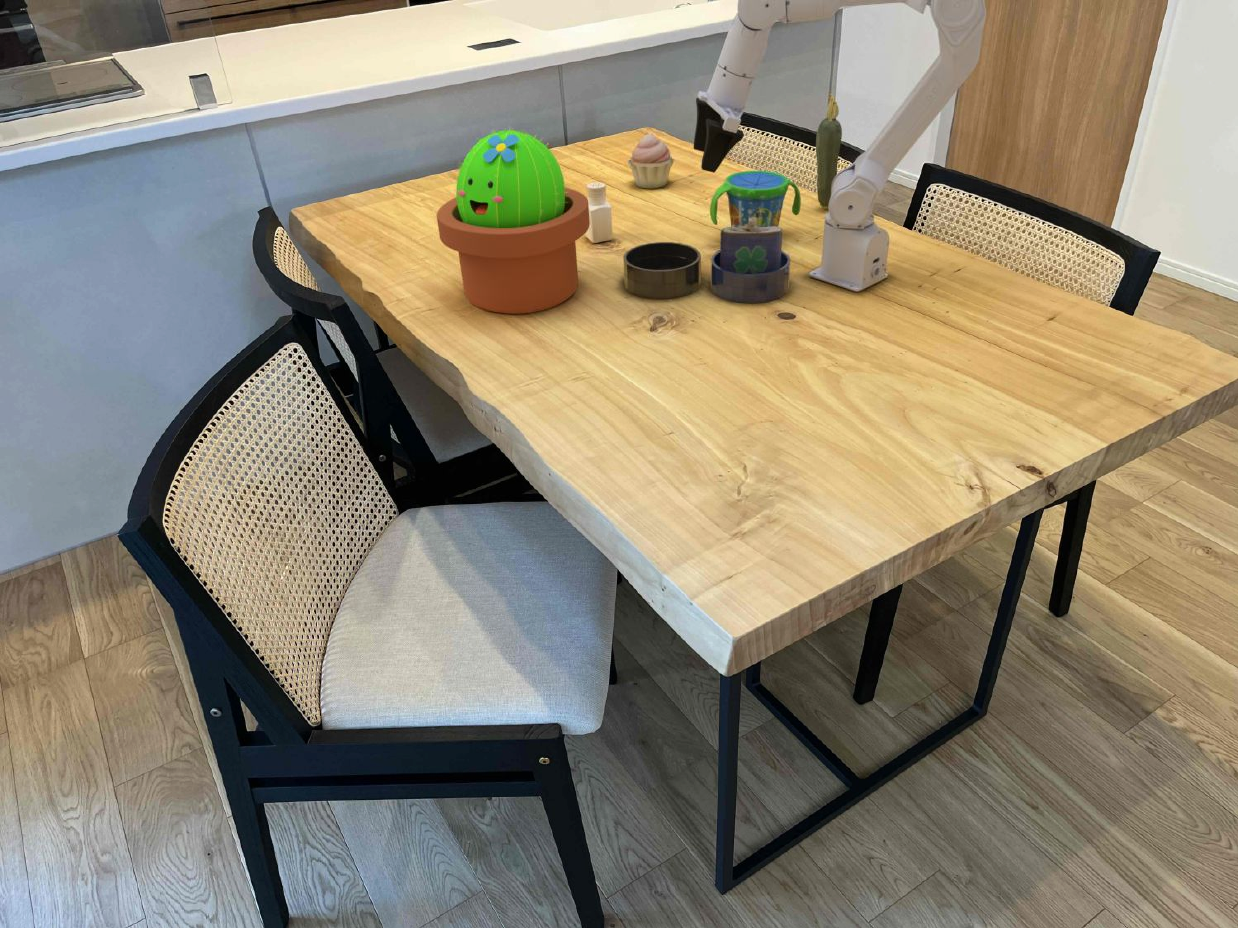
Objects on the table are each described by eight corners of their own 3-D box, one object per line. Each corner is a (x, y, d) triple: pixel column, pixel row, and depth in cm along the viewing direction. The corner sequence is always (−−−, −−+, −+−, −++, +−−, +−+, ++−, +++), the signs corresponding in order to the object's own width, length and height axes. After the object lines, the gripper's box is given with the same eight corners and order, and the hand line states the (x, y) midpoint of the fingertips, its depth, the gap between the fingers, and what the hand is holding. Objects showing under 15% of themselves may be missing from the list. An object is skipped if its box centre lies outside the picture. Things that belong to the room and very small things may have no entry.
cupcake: (683, 180, 188) (682, 129, 183) (660, 194, 182) (659, 142, 176) (643, 174, 193) (642, 125, 187) (619, 188, 186) (617, 136, 181)
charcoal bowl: (716, 282, 146) (716, 254, 143) (661, 306, 139) (660, 278, 137) (663, 262, 153) (662, 236, 151) (608, 284, 147) (607, 257, 144)
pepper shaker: (614, 240, 162) (611, 186, 157) (592, 244, 161) (589, 190, 156) (605, 233, 165) (602, 180, 160) (584, 237, 164) (581, 183, 159)
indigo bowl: (804, 286, 143) (806, 258, 141) (752, 310, 137) (754, 281, 134) (746, 265, 151) (747, 239, 148) (694, 288, 144) (694, 260, 142)
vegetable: (835, 214, 168) (845, 98, 157) (810, 213, 169) (819, 98, 158) (835, 206, 172) (845, 92, 161) (811, 205, 173) (819, 92, 162)
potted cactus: (507, 256, 159) (489, 103, 144) (618, 277, 149) (610, 115, 135) (422, 305, 143) (393, 139, 129) (539, 333, 133) (521, 157, 119)
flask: (779, 281, 144) (782, 213, 138) (780, 288, 142) (784, 220, 136) (719, 282, 145) (720, 215, 139) (720, 290, 143) (720, 222, 136)
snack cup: (789, 224, 165) (793, 166, 160) (807, 245, 157) (812, 185, 151) (703, 231, 164) (703, 174, 158) (716, 253, 155) (717, 193, 150)
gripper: (702, 46, 137) (672, 135, 145) (719, 79, 126) (685, 173, 134) (746, 59, 139) (714, 146, 147) (766, 93, 128) (731, 185, 136)
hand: (703, 160), depth 140 cm, fingers open, 7 cm apart
